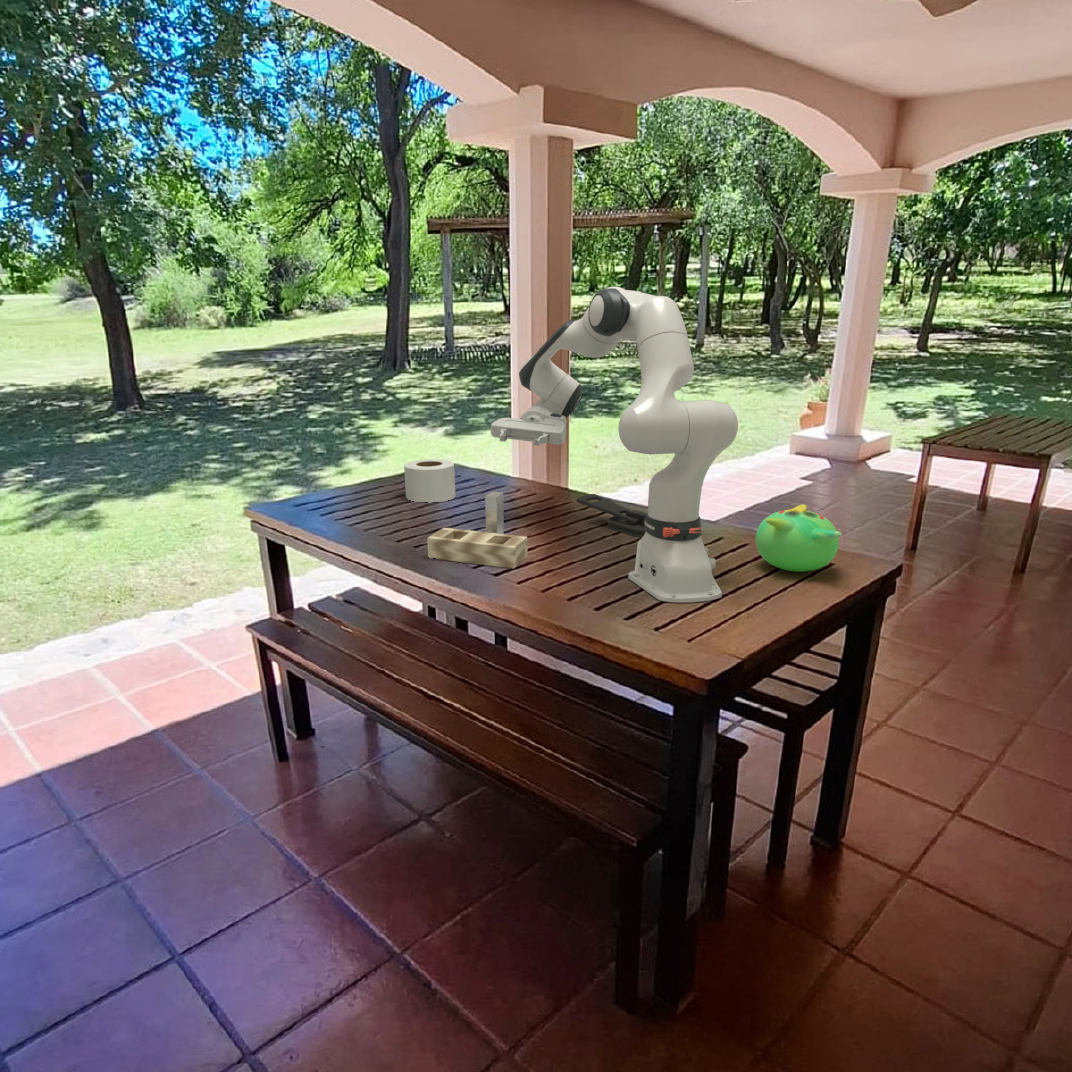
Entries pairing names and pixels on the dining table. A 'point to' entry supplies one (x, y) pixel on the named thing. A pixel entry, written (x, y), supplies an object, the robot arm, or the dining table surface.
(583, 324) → the robot arm
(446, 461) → the toilet paper roll
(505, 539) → the hollow cinder block
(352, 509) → the dining table surface
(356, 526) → the dining table surface
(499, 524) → the grey square pillar
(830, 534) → the toy bird
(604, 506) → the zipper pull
